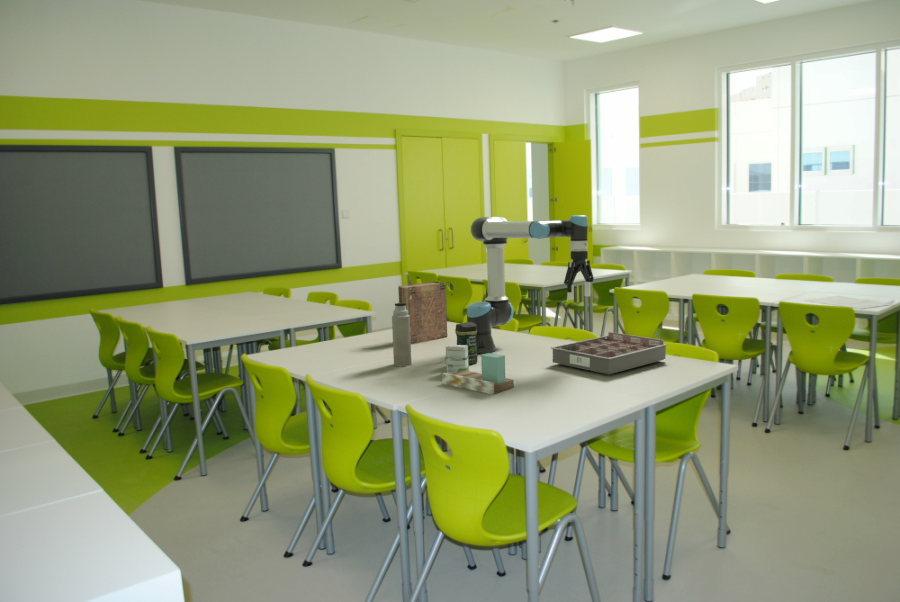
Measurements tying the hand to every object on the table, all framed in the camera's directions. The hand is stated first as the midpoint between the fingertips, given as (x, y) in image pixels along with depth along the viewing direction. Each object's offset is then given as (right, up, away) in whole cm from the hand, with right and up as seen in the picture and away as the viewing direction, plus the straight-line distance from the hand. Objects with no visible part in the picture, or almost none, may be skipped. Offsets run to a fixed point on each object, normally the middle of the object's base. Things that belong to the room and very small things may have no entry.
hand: (579, 297), depth 296 cm
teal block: (-41, -32, -43) cm, 67 cm away
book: (-72, -22, +61) cm, 97 cm away
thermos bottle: (-79, -30, +3) cm, 85 cm away
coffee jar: (-50, -30, +2) cm, 58 cm away
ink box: (-55, -32, -16) cm, 65 cm away
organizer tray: (+12, -29, -7) cm, 32 cm away
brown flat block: (-47, -34, -37) cm, 69 cm away
